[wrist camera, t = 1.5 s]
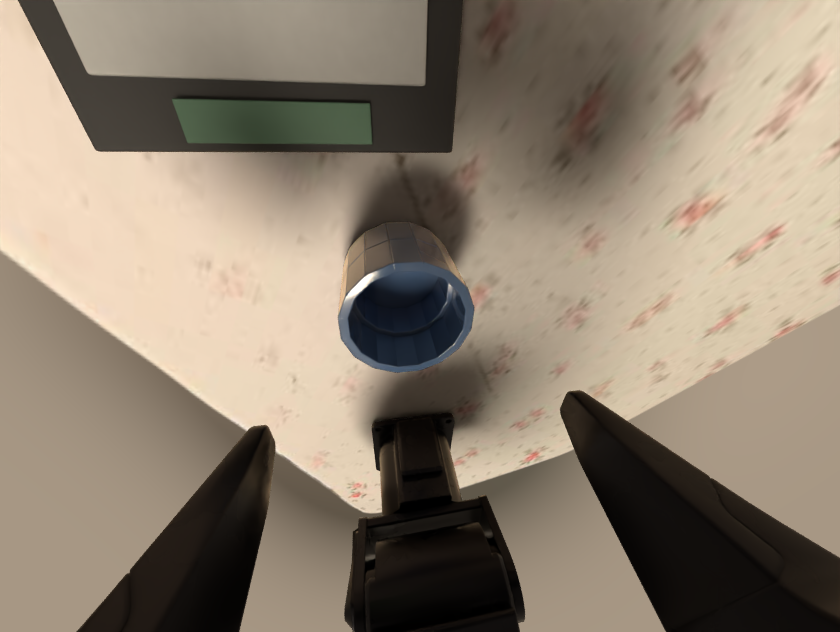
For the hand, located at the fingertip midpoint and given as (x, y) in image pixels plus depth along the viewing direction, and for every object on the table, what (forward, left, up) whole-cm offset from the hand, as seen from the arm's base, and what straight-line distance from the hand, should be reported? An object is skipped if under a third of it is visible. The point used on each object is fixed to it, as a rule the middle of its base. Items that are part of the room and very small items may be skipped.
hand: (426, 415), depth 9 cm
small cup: (0, 0, -10) cm, 10 cm away
